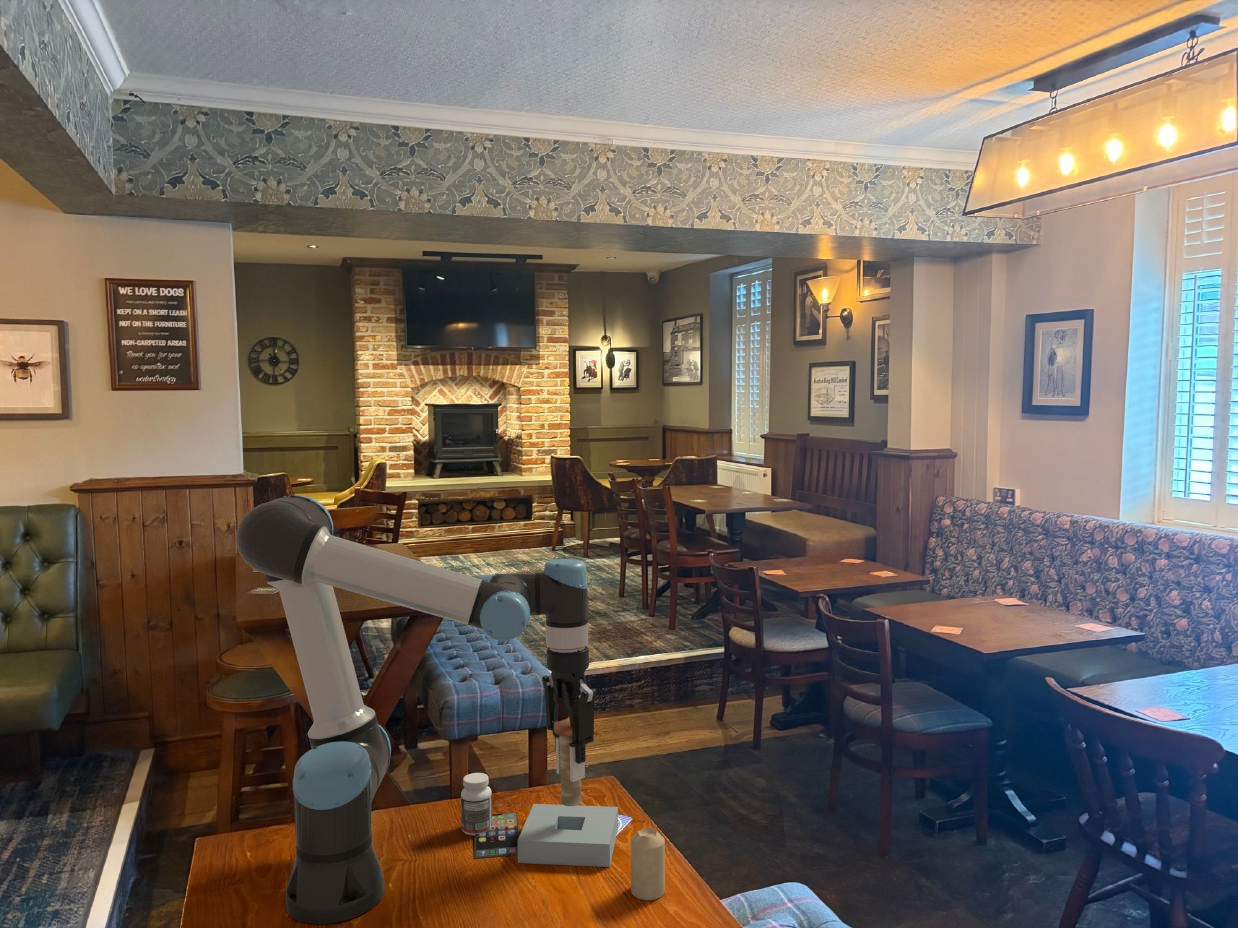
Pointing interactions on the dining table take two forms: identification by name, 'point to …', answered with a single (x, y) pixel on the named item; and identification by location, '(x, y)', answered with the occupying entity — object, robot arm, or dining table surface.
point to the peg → (567, 765)
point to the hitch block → (569, 835)
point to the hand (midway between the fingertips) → (570, 774)
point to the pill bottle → (476, 804)
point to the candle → (647, 864)
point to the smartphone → (499, 837)
